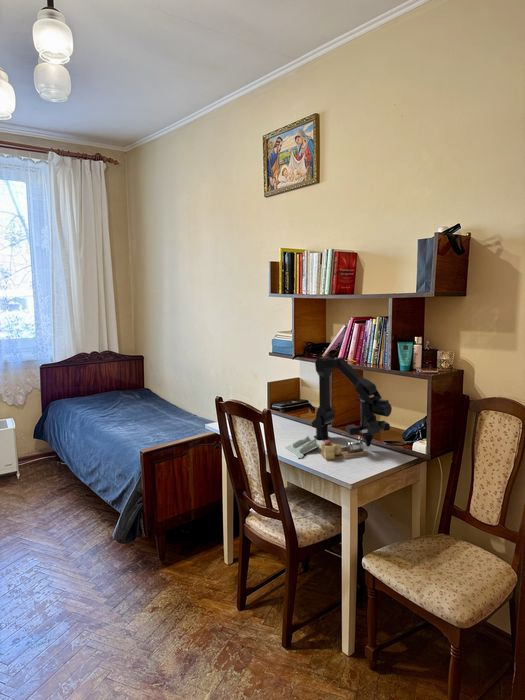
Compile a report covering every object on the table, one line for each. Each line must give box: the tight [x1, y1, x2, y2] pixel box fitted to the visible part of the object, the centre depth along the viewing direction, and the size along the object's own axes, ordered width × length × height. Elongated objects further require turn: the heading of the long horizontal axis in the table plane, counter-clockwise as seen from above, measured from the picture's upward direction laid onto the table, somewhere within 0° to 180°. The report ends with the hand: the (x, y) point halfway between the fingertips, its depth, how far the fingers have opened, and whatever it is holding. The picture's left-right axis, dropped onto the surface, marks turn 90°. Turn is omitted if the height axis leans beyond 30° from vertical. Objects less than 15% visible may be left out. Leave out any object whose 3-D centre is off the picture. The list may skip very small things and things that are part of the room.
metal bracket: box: [284, 436, 321, 459], centre depth 213 cm, size 14×6×15 cm
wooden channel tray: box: [319, 439, 368, 463], centre depth 204 cm, size 10×18×7 cm, turn 103°
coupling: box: [345, 439, 365, 454], centre depth 206 cm, size 5×6×5 cm
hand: (368, 446), depth 207 cm, fingers closed
